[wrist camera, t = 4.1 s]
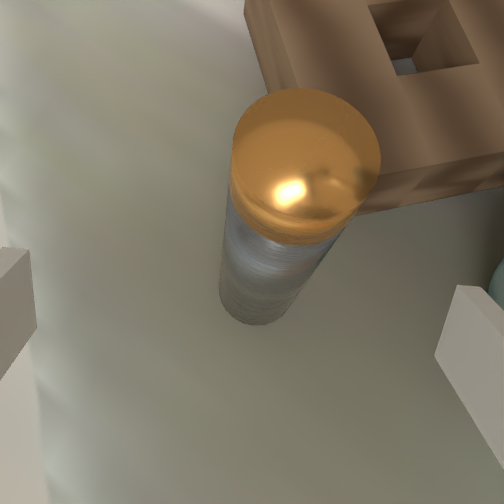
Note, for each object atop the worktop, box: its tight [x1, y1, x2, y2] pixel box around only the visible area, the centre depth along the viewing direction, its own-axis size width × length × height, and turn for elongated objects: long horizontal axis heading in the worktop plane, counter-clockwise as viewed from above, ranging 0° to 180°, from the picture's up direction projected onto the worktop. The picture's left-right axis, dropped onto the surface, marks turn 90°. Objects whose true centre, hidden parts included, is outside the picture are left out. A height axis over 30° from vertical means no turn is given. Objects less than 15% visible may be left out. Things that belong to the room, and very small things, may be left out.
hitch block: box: [244, 0, 504, 216], centre depth 29 cm, size 16×16×5 cm
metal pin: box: [219, 88, 381, 325], centre depth 19 cm, size 4×4×14 cm
